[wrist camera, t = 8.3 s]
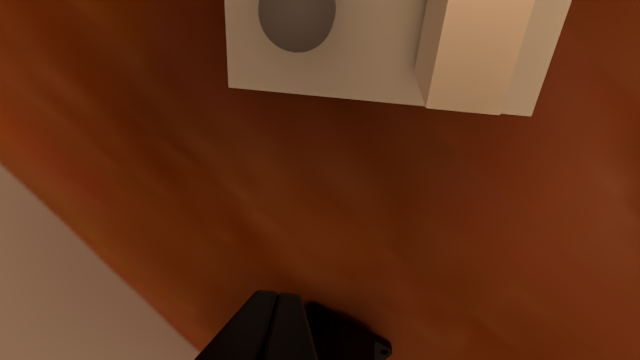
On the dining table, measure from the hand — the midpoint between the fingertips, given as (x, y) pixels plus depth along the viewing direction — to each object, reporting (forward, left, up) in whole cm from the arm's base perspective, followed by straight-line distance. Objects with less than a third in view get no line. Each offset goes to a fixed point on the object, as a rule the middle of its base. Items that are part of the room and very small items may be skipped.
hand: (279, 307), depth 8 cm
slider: (+5, -2, -12) cm, 13 cm away
